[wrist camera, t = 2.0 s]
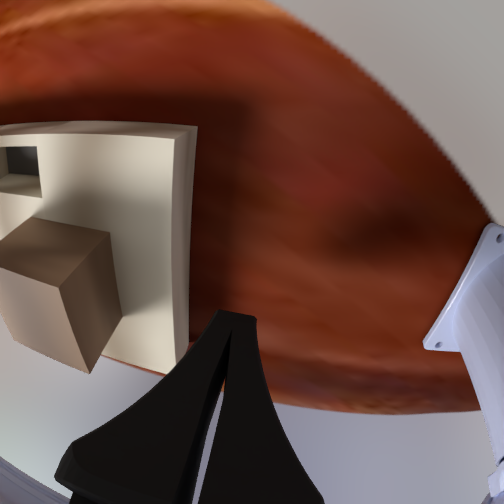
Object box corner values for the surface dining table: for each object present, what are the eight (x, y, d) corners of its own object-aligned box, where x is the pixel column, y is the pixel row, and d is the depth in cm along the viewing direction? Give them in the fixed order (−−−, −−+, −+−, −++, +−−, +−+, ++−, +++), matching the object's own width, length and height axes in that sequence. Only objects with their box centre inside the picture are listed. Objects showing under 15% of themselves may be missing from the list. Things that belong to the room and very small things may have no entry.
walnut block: (109, 232, 11) (58, 287, 8) (122, 317, 13) (90, 374, 10) (30, 216, 11) (-21, 258, 8) (50, 294, 13) (14, 340, 10)
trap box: (197, 126, 11) (154, 150, 8) (188, 343, 17) (169, 399, 14) (-46, 131, 11) (-88, 153, 8) (-13, 277, 18) (-41, 307, 14)
